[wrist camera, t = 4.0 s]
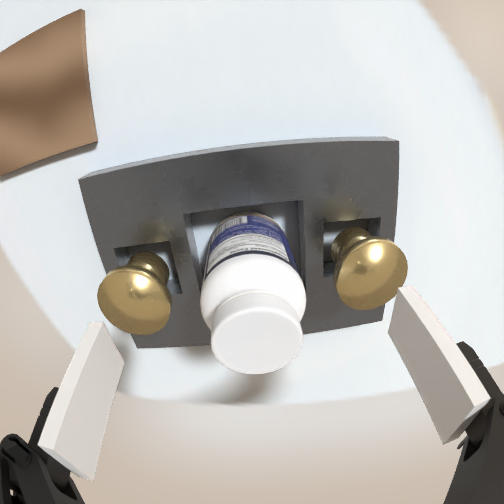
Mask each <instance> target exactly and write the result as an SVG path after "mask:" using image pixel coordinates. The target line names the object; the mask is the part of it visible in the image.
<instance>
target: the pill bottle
mask: <svg viewBox="0 0 504 504" xmlns="http://www.w3.org/2000/svg"><path fill="white" fill-rule="evenodd" d="M200 306H201V313H202V316H203V319H204V321H205V323H206V324H207V326H208V327H209V329H210V330H211V348H212V351H213V354H214V355H215V357H216V359H217V360H218V361H219V362H220V363H221V364H222V365H224V366H225V367H227V368H229V369H231V370H233V371H236V372H239V373H243V374H265V373H270V372H273V371H276V370H278V369H281V368H282V367H284V366H286V365H288V364H289V363H290V362H291V361H292V360H293V359H294V358H295V357H296V356H297V355H298V353H299V352H300V350H301V347H302V343H303V333H302V328H301V324H300V321H301V319H302V317H303V315H304V311H305V307H306V293H305V289H304V285H303V282H302V279H301V276H300V273H299V271H298V268H297V265H296V262H295V260H294V257H293V254H292V252H291V249H290V246H289V244H288V241H287V238H286V236H285V234H284V232H283V230H282V229H281V227H280V226H279V225H278V224H277V222H275V221H274V220H273V219H272V218H270V217H268V216H266V215H264V214H261V213H257V212H240V213H236V214H233V215H231V216H229V217H227V218H225V219H224V220H223V221H221V222H220V223H219V224H218V226H217V227H216V228H215V230H214V231H213V233H212V236H211V239H210V242H209V248H208V254H207V260H206V266H205V272H204V279H203V284H202V290H201V298H200Z"/></svg>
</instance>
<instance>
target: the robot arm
mask: <svg viewBox="0 0 504 504" xmlns="http://www.w3.org/2000/svg"><path fill="white" fill-rule="evenodd" d="M388 334H389V336H390V338H391V339H392V341H393V343H394V345H395V347H396V349H397V350H398V352H399V354H400V356H401V358H402V360H403V362H404V364H405V366H406V368H407V369H408V371H409V373H410V375H411V377H412V379H413V381H414V383H415V385H416V387H417V389H418V391H419V393H420V395H421V397H422V399H423V402H424V404H425V406H426V408H427V410H428V412H429V414H430V416H431V419H432V421H433V423H434V425H435V427H436V430H437V432H438V434H439V436H440V439H441V440H442V443H443V445H444V444H446V443H448V442H450V441H452V440H454V439H456V438H459V437H460V435H461V434H462V433H463V432H464V431H466V433H467V436H466V437H465V438H464V440H463V441H462V442H461V443H460V444H459V445H458V447H457V449H460V448H461V447H462V446H463V449H462V452H461V456H460V459H459V462H458V465H457V468H456V471H455V474H454V477H453V480H452V483H451V485H450V488H449V491H448V493H447V496H446V499H445V501H444V503H443V504H504V394H503V393H502V392H501V391H500V389H499V387H498V386H497V384H496V383H495V381H494V380H493V378H492V377H491V375H490V373H489V372H488V370H487V369H486V367H484V364H483V363H482V361H481V360H480V359H479V357H478V356H477V354H476V353H475V351H474V350H473V348H471V347H470V346H469V345H467V344H466V343H465V342H463V341H462V342H459V343H457V344H456V343H455V342H454V340H453V339H452V338H451V336H450V335H449V333H448V332H447V331H446V329H445V328H444V326H443V325H442V324H441V322H440V321H439V320H438V318H437V317H436V315H435V314H434V313H433V311H432V310H431V309H430V307H429V306H428V305H427V303H426V302H425V301H424V300H423V298H422V297H421V296H420V294H419V293H418V292H417V291H416V289H415V288H414V287H413V286H412V285H409V286H404V287H399V288H398V290H397V295H396V300H395V304H394V309H393V314H392V318H391V322H390V327H389V331H388ZM124 363H125V362H124V360H123V358H122V357H121V355H120V353H119V351H118V349H117V347H116V345H115V344H114V342H113V340H112V338H111V336H110V334H109V332H108V330H107V328H106V326H105V324H104V322H90V323H89V325H88V327H87V329H86V331H85V333H84V335H83V337H82V339H81V341H80V343H79V345H78V347H77V350H76V352H75V354H74V356H73V358H72V360H71V362H70V365H69V367H68V369H67V371H66V374H65V376H64V378H63V381H62V383H61V385H60V387H59V388H57V387H54V388H53V389H52V390H51V392H50V393H49V394H48V395H47V397H46V399H45V402H44V404H43V408H42V409H41V412H40V416H39V417H38V419H37V422H36V424H35V427H34V429H33V433H32V435H31V438H30V441H29V443H28V444H27V443H26V442H25V441H24V440H23V439H22V438H21V437H19V436H18V435H17V434H9V435H7V436H6V437H4V438H3V440H2V441H1V443H0V504H85V503H84V501H83V499H82V497H81V495H80V493H79V491H78V489H77V488H76V485H75V484H74V481H73V480H72V479H71V477H70V472H72V473H74V474H75V475H77V476H78V477H81V478H85V479H90V480H94V478H95V473H96V468H97V463H98V459H99V455H100V450H101V446H102V442H103V438H104V434H105V430H106V426H107V422H108V418H109V415H110V411H111V407H112V403H113V400H114V397H115V393H116V390H117V386H118V383H119V380H120V376H121V373H122V370H123V367H124ZM10 489H11V490H13V496H12V495H11V494H10Z"/></svg>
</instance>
